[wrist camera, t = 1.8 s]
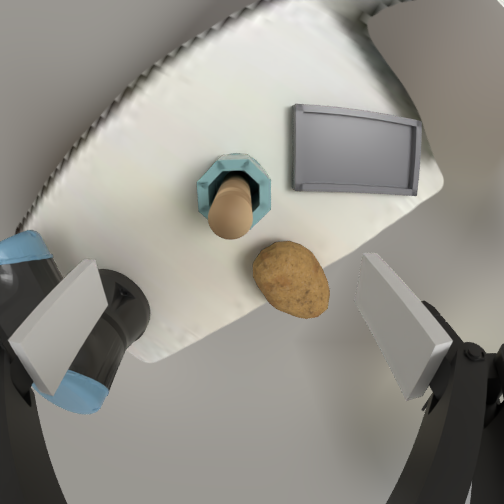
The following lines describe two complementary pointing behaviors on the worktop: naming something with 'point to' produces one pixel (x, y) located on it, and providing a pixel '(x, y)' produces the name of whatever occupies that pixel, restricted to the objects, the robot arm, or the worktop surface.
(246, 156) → the cup
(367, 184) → the tray
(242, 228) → the dowel
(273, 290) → the potato
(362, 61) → the worktop surface
